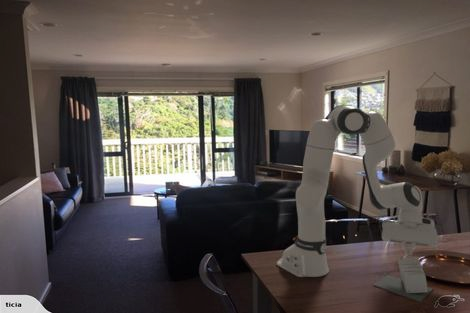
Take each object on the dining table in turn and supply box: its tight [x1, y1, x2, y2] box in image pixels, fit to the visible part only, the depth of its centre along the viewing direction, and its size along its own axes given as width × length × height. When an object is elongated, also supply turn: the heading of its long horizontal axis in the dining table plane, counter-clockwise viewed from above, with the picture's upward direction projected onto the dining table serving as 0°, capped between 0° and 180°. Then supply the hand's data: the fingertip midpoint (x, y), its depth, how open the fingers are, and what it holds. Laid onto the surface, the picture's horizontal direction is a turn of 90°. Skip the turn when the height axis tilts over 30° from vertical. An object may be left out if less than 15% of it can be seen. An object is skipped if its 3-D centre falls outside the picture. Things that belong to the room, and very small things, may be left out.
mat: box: [373, 274, 434, 303], centre depth 136 cm, size 17×12×1 cm
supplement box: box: [397, 257, 428, 293], centre depth 135 cm, size 7×7×13 cm
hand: (408, 253), depth 141 cm, fingers closed
